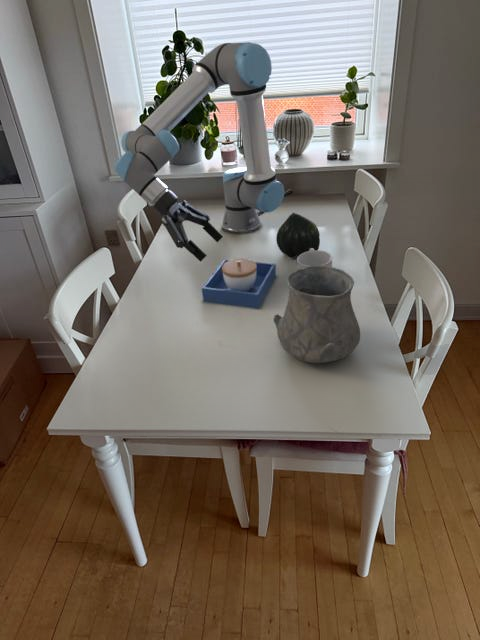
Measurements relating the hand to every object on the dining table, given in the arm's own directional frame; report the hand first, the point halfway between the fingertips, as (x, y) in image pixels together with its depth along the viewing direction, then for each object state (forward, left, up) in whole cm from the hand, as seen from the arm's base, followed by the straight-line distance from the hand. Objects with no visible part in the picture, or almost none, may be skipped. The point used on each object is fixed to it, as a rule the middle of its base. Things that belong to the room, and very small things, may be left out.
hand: (212, 248), depth 137 cm
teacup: (-12, +29, -13) cm, 34 cm away
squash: (-28, +20, -13) cm, 37 cm away
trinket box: (0, +8, -13) cm, 15 cm away
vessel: (+24, +36, -13) cm, 45 cm away
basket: (0, +8, -13) cm, 16 cm away
